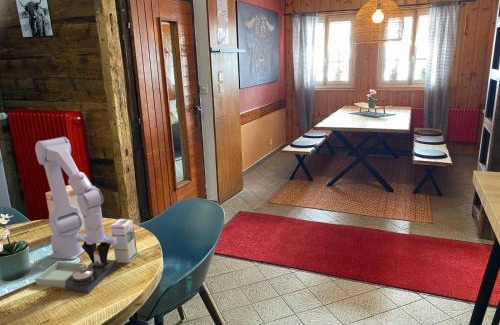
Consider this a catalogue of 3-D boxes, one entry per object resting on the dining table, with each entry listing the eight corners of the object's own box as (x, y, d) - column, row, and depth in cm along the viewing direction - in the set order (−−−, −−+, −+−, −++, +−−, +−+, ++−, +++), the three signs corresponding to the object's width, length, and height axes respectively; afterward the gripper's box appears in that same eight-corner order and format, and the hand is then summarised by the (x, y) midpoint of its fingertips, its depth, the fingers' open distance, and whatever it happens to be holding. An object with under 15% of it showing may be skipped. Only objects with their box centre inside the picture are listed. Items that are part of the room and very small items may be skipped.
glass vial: (93, 272, 131) (90, 251, 129) (99, 267, 134) (96, 247, 132) (102, 273, 130) (99, 252, 128) (107, 268, 133) (104, 247, 131)
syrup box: (130, 263, 136) (125, 225, 132) (115, 262, 138) (109, 224, 134) (137, 255, 142) (133, 219, 138) (123, 254, 143) (118, 218, 139)
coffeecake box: (83, 223, 172) (77, 181, 167) (94, 226, 168) (87, 184, 163) (52, 236, 159) (44, 192, 154) (63, 240, 156) (55, 195, 151)
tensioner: (65, 291, 121) (62, 274, 119) (97, 263, 137) (94, 248, 135) (88, 293, 119) (85, 276, 118) (117, 265, 135) (115, 250, 134)
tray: (36, 285, 125) (35, 278, 124) (59, 267, 135) (58, 261, 134) (66, 288, 122) (64, 281, 122) (86, 270, 133) (85, 263, 132)
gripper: (67, 228, 125) (73, 265, 129) (106, 231, 122) (112, 269, 126) (80, 220, 132) (86, 255, 136) (118, 222, 129) (123, 258, 133)
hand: (99, 261), depth 131 cm, fingers closed on glass vial, 3 cm apart
